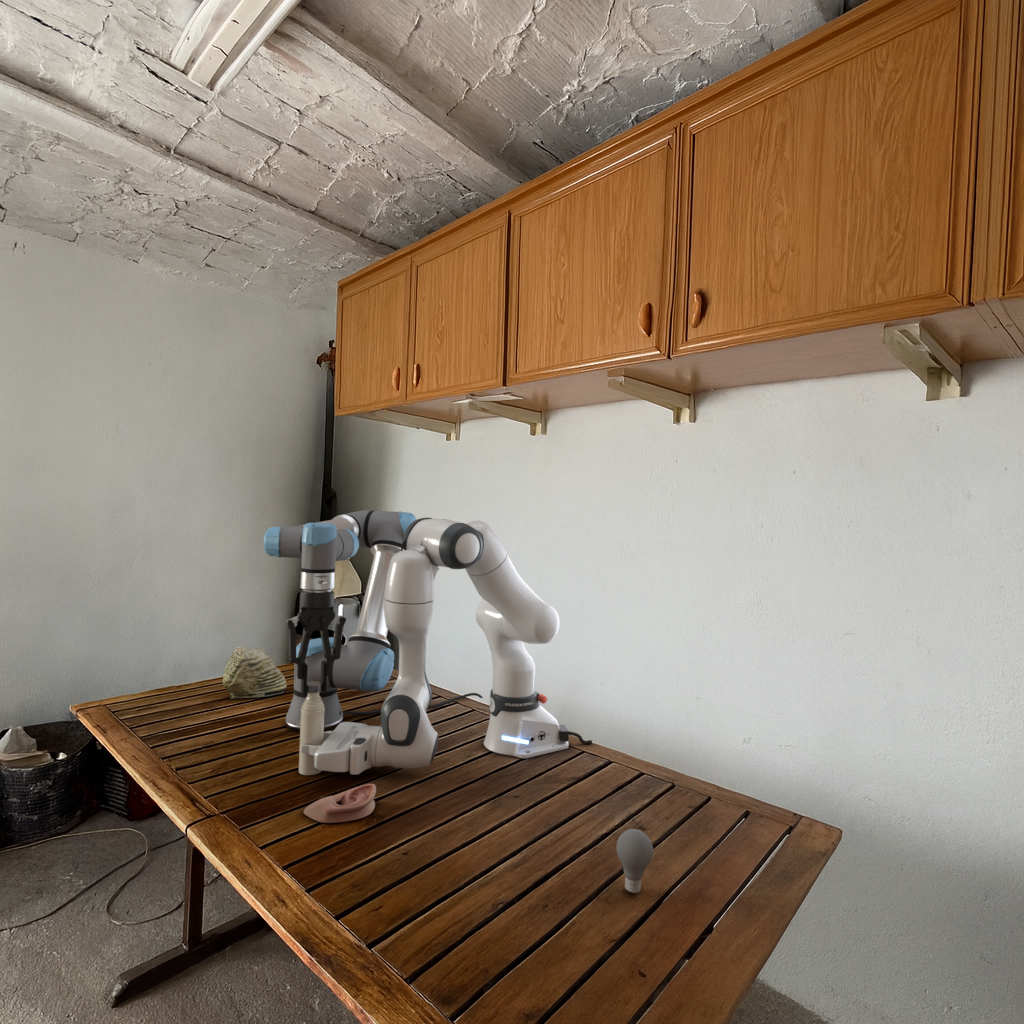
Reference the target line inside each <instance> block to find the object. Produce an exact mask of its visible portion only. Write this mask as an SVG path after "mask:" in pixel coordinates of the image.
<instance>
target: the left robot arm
mask: <svg viewBox="0 0 1024 1024" xmlns="http://www.w3.org/2000/svg"><path fill="white" fill-rule="evenodd" d="M415 520H417V516H415V514H413V513H411V512H405V511H401V510H399V511H392V510H391V511H390V510H389V511H387V510H371V509H366V510H358V511H357V510H356V511H352V512H348V513H343V514H338V515H336V516H334V517H333V518H332V519H329V520H323V521H317V522H307V523H305V524H301V525H295V526H282V525H281V526H271V527H269V528H268V529H267V530H266V532H265V534H264V536H263V545H262V546H263V550H264V552H265V553H266V554H267V555H268V556H270V557H275V558H287V559H288V558H289V559H290V558H291V559H301V567H300V584H299V585H300V587H299V588H300V589H301V591H300V592H299V609H298V611H297V614H296V616H293V617H291V618H286V619H285V624H286V627H287V631H288V635H287V636H288V637H287V639H288V661H290V663H291V664H294V672H293V695H292V696H293V697H292V699H291V702H290V704H289V708H288V711H287V713H286V715H285V726H286V728H287V729H289V730H291V731H294V732H295V731H296V732H300V719H301V708H302V705H303V703H304V702H305V699H306V697H307V694H308V693H307V682H310V681H319V682H322V691H321V692H319V696H321V699H322V701H323V704H324V707H325V715H324V732H326V731H330V730H332V729H335V728H336V727H337V726H338V725H339V724H340V723H341V722H344V715H362V716H363V715H372V714H373V715H374V714H376V713H381V708H380V709H375V710H369V711H355V710H350V711H349V710H347V711H345V710H343V709H342V706H341V702H340V699H339V695H338V689H342V690H351V691H353V690H354V691H362V692H365V693H366V692H379V691H381V690H383V689H384V688H385V686H387V684H388V683H389V681H390V678H391V677H392V674H393V671H394V666H395V662H394V661H395V652H394V651H393V650H392V649H391V643H390V641H389V639H387V636H388V632H389V630H388V628H387V627H386V623H385V616H384V595H385V584H386V578H387V573H388V568H389V564H390V561H391V559H392V557H393V556H394V555H395V554H396V553H398V552H400V551H401V544H402V542H403V537H404V534H405V531H406V529H407V527H408V526H409V525H410V524H411V523H412V522H413V521H415ZM359 548H365V549H370V552H371V554H372V555H373V559H372V564H371V568H370V572H369V576H368V580H367V585H366V589H365V593H364V597H363V601H362V605H361V610H360V613H359V618H358V622H357V626H356V631H355V633H353V634H351V635H350V636H348V641H347V644H342V641H343V632H344V627H345V624H346V622H347V618H346V617H345V616H343V615H339V614H336V612H335V609H334V608H335V591H334V590H333V589H335V584H336V583H335V582H336V581H335V580H336V577H335V576H336V562H339V561H346V560H348V559H351V558H353V557H354V556H355V555H356V554H357V553H358V550H359ZM403 550H404V549H403ZM298 622H300V624H301V625H302V626H303V630H302V637H301V641H300V642H299V643H298V644H297V629H296V628H297V627H298ZM331 623H334V624H335V625H334V631H333V632H334V633H333V636H331V637H330V636H329V626H330V625H331ZM316 631H319V633H320V637H318V638H313V639H311V637H312V634H313V632H316ZM471 696H475V697H478V698H480V699H483V698H484V697H483V695H481V694H479V693H476V692H469V693H466V694H463V695H457V696H454V697H452V698H449V699H447V700H445V701H442V702H438V703H434V704H430V706H429V707H428V709H432V708H436V707H440V706H443V705H448V704H449V703H451V702H453V701H456V700H460V699H464V698H468V697H471Z"/></svg>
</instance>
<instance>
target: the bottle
mask: <svg viewBox="0 0 1024 1024" xmlns="http://www.w3.org/2000/svg"><path fill="white" fill-rule="evenodd" d="M324 715H325V707H324V704H323V701H322V699H321V696H319V693H308V694H307V697H306V699H305V702H304V703H303V705H302V708H301V719H300V731H299V747H298V748H299V749H298V773H299V774H300V775H303V776H314V775H318V774H320V773H321V772H322V770H318V769H316V768H315V767H314V756H312V755H310V754H304V753H302V746H303V745H304V744H305V743H307V744H308V743H311V744H312V745H314V746H317V745H322V744H323V743H324V742H325V741H324V732H325V731H324Z"/></svg>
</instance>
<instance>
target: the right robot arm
mask: <svg viewBox="0 0 1024 1024" xmlns="http://www.w3.org/2000/svg"><path fill="white" fill-rule="evenodd" d="M403 549H404V550H403ZM440 567H441V568H449V569H452V570H464V569H465V571H466V573H467V575H468V577H469V579H470V581H471V582H472V584H473V586H474V587H475V590H476V592H477V593H478V595H479V596H480V597H481V599H480V600H479V601H478V603H477V606H476V608H475V620H476V623H477V625H478V626H479V628H480V629H481V630H482V632H483V634H484V635H485V637H486V641H487V644H488V647H489V651H490V654H491V660H492V684H491V686H492V687H491V690H490V693H489V720H488V725H487V731H486V733H485V737H484V740H483V746H484V747H485V748H486V749H487V750H489V751H491V752H493V753H496V754H499V755H505V756H513V757H516V758H519V759H529V758H534V757H537V756H542V755H546V754H550V753H554V752H558V751H563V750H566V749H569V747H570V746H569V745H570V743H569V736H574V737H576V738H578V740H579V742H580V743H581V744H583V745H591V744H593V740H592V739H589V740H588V739H587V740H584V739H583V736H582V735H581V734H579V733H577V732H574V731H570V730H569V729H568V728H567V726H566V724H560V723H559V722H558V720H557V718H556V717H555V716H553V715H552V713H550V712H549V711H548V710H547V709H545V708H544V707H543V706H541V705H540V703H541V704H544V705H545V704H547V702H548V697H547V696H546V695H544V694H543V693H539V692H538V691H536V690H535V681H536V680H535V678H536V664H535V661H534V659H533V657H532V656H531V655H530V654H529V652H528V651H527V649H526V647H525V643H526V644H530V645H546V644H548V643H551V642H552V641H553V640H554V639H555V637H556V636H557V634H558V632H559V629H560V616H559V614H558V611H557V610H556V608H554V607H553V606H551V605H550V604H548V603H546V601H544V600H543V599H542V598H540V596H539V595H537V594H536V593H535V592H534V590H533V589H532V588H531V587H530V586H529V585H528V584H527V583H526V582H525V580H524V579H522V577H521V575H520V574H519V573H518V571H517V569H516V567H515V565H514V564H513V562H512V560H511V558H510V556H509V554H508V553H507V551H506V548H505V546H504V545H503V543H502V541H501V539H500V538H499V536H498V535H497V534H496V532H495V531H494V530H493V529H492V528H491V526H490V525H489V524H488V523H486V522H485V521H481V520H472V521H469V522H466V523H465V522H458V521H456V520H451V519H447V518H433V517H421V518H420V517H419V518H418V519H417V518H416V520H415V521H413V522H412V523H411V524H410V525H409V526H408V527H407V529H406V531H405V534H404V537H403V542H402V544H401V551H400V552H398V553H396V554H395V555H394V556H393V557H392V559H391V561H390V564H389V568H388V573H387V578H386V584H385V595H384V616H385V623H386V627H387V628H388V632H390V633H391V634H392V635H393V636H395V637H396V638H397V640H398V645H399V650H398V652H399V654H398V662H399V663H398V674H397V678H396V680H395V681H394V684H393V686H392V687H391V690H390V692H389V693H388V695H387V696H386V698H385V700H384V702H383V703H382V706H381V708H380V709H381V712H380V721H381V722H380V724H381V725H368V724H366V723H362V722H354V721H343V722H341V723H340V724H339V725H338V726H337V727H335V728H334V730H326V731H324V741H323V744H322V745H317V746H314V745H312V744H311V743H308V744H307V743H305V744H304V745H303V746H302V753H304V754H310V755H312V756H314V767H315V768H316V769H318V770H322V771H323V772H330V773H331V772H332V773H333V772H334V773H346V772H349V775H352V776H353V775H354V776H355V775H360V774H361V773H362V772H364V771H366V770H368V769H371V768H382V767H392V768H395V769H423V768H427V767H429V766H430V765H431V764H432V763H433V762H434V759H435V756H436V752H437V749H438V746H439V745H438V744H439V733H438V732H437V731H436V730H435V729H434V726H433V725H432V723H431V721H430V720H429V717H428V714H427V710H428V709H429V708H428V707H429V706H430V705H432V704H431V703H432V701H433V700H432V699H433V691H432V687H431V684H430V682H429V680H428V677H427V673H426V653H427V651H426V649H427V637H428V633H429V630H430V626H431V622H432V617H433V610H434V595H435V587H434V585H435V584H434V582H435V578H436V575H437V573H438V571H439V570H440ZM322 771H321V772H322Z"/></svg>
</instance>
